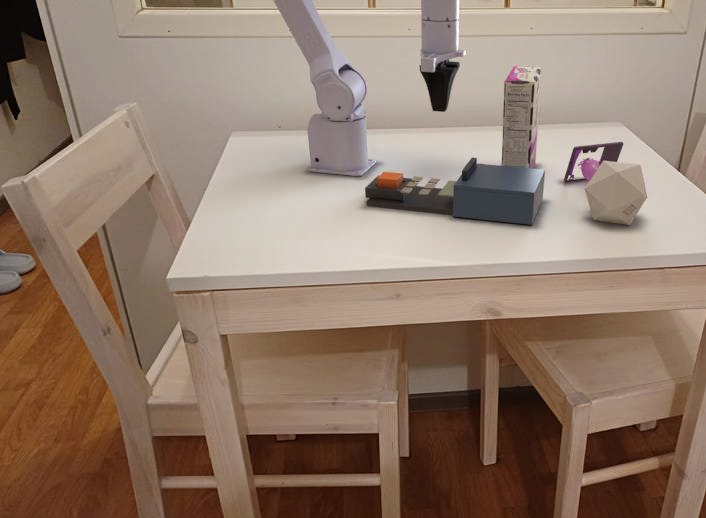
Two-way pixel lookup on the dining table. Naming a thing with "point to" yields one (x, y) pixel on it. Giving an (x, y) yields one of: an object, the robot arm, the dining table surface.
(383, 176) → the on key
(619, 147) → the purple piece
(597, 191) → the die
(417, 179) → the keypad
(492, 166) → the cover
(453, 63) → the robot arm
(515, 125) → the candy bar box
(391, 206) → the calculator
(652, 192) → the dining table surface
